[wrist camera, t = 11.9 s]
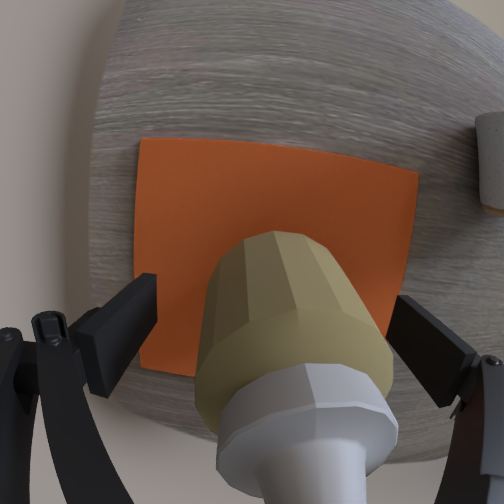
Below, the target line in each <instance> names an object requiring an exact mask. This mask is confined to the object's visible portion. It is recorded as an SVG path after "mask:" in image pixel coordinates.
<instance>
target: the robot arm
mask: <svg viewBox="0 0 504 504" xmlns="http://www.w3.org/2000/svg"><path fill="white" fill-rule="evenodd" d="M157 322H158V316H157V274H152V273H144V272H143V273H142V274H141V275H140V276H138V277H137V278H136V279H135V280H133V281H132V282H131V283H130V284H129V285H127V286H126V287H125V288H124V289H123V290H122V291H120V292H119V293H118V294H117V295H116V296H114V297H113V298H112V299H111V300H110V301H109V302H107V303H106V304H105V305H104V306H103V307H102V308H99V307H97V308H94V309H92V310H89V311H87V312H86V313H85V314H84V315H83V316H82V317H80V318H79V319H78V320H77V322H74V323H73V324H72V325H71V326H70V327H68V328H67V323H66V318H65V316H64V314H63V313H61V312H57V311H45V312H41V313H39V314H36V315H35V316H34V317H33V318H32V320H31V323H32V327H33V331H34V336H35V339H36V342H29V341H23V337H22V334H21V332H20V330H19V329H17V328H8V327H6V328H2V329H0V504H30V493H29V483H30V482H29V481H30V458H31V446H32V437H33V428H34V420H35V414H36V408H37V403H38V397H39V395H40V398H41V405H42V412H43V418H44V423H45V429H46V434H47V438H48V443H49V447H50V451H51V455H52V459H53V463H54V466H55V470H56V473H57V476H58V479H59V483H60V485H61V489H62V491H63V494H64V497H65V500H66V502H67V504H134V502H133V501H132V499H131V497H130V496H129V494H128V492H127V491H126V489H125V487H124V485H123V483H122V481H121V479H120V478H119V476H118V474H117V472H116V470H115V468H114V466H113V464H112V462H111V460H110V458H109V455H108V453H107V451H106V449H105V447H104V445H103V442H102V440H101V438H100V435H99V432H98V430H97V428H96V425H95V422H94V420H93V417H92V414H91V412H90V409H89V406H88V403H87V400H86V397H85V394H84V391H83V386H84V385H85V384H86V382H87V383H88V386H89V390H90V393H91V394H95V395H98V396H101V397H105V398H107V399H108V397H109V396H110V394H111V392H112V391H113V389H114V388H115V386H116V384H117V383H118V381H119V380H120V378H121V377H122V375H123V373H124V372H125V370H126V369H127V367H128V366H129V364H130V363H131V361H132V360H133V358H134V356H135V355H136V353H137V352H138V350H139V349H140V347H141V346H142V344H143V343H144V341H145V340H146V338H147V337H148V335H149V334H150V332H151V331H152V329H153V328H154V326H155V325H156V323H157ZM385 339H386V340H387V341H388V342H389V343H390V345H391V346H392V347H393V348H394V350H395V351H396V352H397V354H398V355H399V356H400V357H401V359H402V360H403V361H404V362H405V364H406V365H407V366H408V368H409V369H410V370H411V371H412V373H413V374H414V375H415V377H416V378H417V379H418V381H419V382H420V383H421V385H422V386H423V387H424V389H425V390H426V391H427V393H428V394H429V395H430V397H431V398H432V399H433V401H434V402H435V403H436V405H437V406H438V407H439V408H442V407H446V406H450V405H451V404H452V402H453V401H454V399H455V397H456V395H457V394H458V395H459V397H460V398H461V399H460V401H459V403H458V404H457V406H456V408H455V409H454V411H453V413H452V414H451V416H450V419H452V417H453V416H454V415H456V417H455V419H454V420H455V423H454V429H453V435H452V440H451V445H450V450H449V454H448V458H447V463H446V466H445V470H444V474H443V477H442V481H441V484H440V487H439V491H438V494H437V497H436V500H435V503H434V504H504V364H503V362H502V361H501V360H500V359H498V358H497V357H495V356H492V355H483V356H482V357H480V356H479V355H478V354H477V352H476V351H475V350H474V349H473V348H472V347H471V346H469V345H468V344H467V343H466V342H465V341H464V340H462V339H461V338H460V337H459V336H458V335H456V334H455V333H454V332H453V331H452V330H450V329H449V328H448V327H447V326H446V325H444V324H443V323H442V322H441V321H439V320H438V319H437V318H436V317H434V316H433V315H432V314H431V313H429V312H428V311H427V310H426V309H424V308H423V307H422V306H421V305H419V304H418V303H417V302H416V301H414V300H413V299H412V298H410V297H409V296H408V295H397V298H396V301H395V305H394V309H393V312H392V316H391V320H390V323H389V326H388V330H387V333H386V336H385Z"/></svg>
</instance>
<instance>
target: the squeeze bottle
mask: <svg viewBox="0 0 504 504" xmlns="http://www.w3.org/2000/svg"><path fill="white" fill-rule="evenodd" d="M392 384H393V354H392V352H391V350H390V348H389V347H388V345H387V343H386V341H385V339H384V338H383V336H382V334H381V332H380V331H379V329H378V327H377V326H376V324H375V322H374V320H373V319H372V317H371V315H370V314H369V312H368V310H367V309H366V307H365V305H364V304H363V302H362V300H361V299H360V297H359V295H358V294H357V292H356V291H355V289H354V287H353V286H352V284H351V282H350V281H349V279H348V278H347V276H346V275H345V273H344V271H343V270H342V268H341V267H340V266H339V264H338V263H337V261H336V260H335V259H334V257H333V256H332V254H331V253H330V252H329V250H328V249H327V248H326V247H324V246H323V245H321V244H319V243H317V242H316V241H314V240H312V239H310V238H309V237H307V236H305V235H304V234H298V233H290V232H281V231H270V232H266V233H263V234H259V235H256V236H252V237H249V238H245V239H243V240H242V241H241V242H240V243H238V244H237V245H236V246H235V247H233V248H232V249H231V250H230V251H228V252H227V253H226V254H225V255H223V256H222V257H221V258H220V260H219V262H218V264H217V266H216V268H215V270H214V272H213V274H212V275H211V277H210V279H209V281H208V286H207V293H206V299H205V306H204V313H203V320H202V327H201V334H200V342H199V349H198V357H197V365H196V373H195V406H196V408H197V410H198V411H199V413H200V415H201V416H202V418H203V420H204V421H205V423H206V425H207V426H208V428H209V430H211V431H212V432H213V433H215V434H216V435H218V436H219V437H218V445H217V455H216V470H217V471H218V472H219V474H220V475H221V476H222V477H223V478H224V480H225V481H226V482H227V483H228V485H230V486H231V487H233V488H235V489H237V490H239V491H241V492H243V493H246V494H248V495H250V496H253V497H258V498H263V499H264V502H265V504H367V502H366V477H367V476H368V475H370V474H371V473H372V472H374V471H375V470H376V469H377V468H379V467H380V466H381V465H382V464H383V463H384V462H385V460H386V459H387V457H388V456H389V455H390V453H391V452H392V450H393V449H394V447H395V446H396V444H397V435H398V426H399V424H398V423H397V421H396V419H395V417H394V415H393V414H392V412H391V410H390V408H389V406H388V405H387V403H386V401H385V399H386V397H387V395H388V393H389V391H390V389H391V386H392Z"/></svg>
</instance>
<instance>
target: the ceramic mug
mask: <svg viewBox="0 0 504 504" xmlns="http://www.w3.org/2000/svg"><path fill="white" fill-rule="evenodd" d="M475 125H476V133H477V144H478V158H479V193H480V202H481V206H482V208H483V210H484V211H485V212H487V213H489V214H492V215H495V216H499V217H503V218H504V112H490V113H484V114H481V115H479V116H477V117H476V119H475Z"/></svg>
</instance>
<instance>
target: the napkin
mask: <svg viewBox="0 0 504 504" xmlns="http://www.w3.org/2000/svg"><path fill="white" fill-rule="evenodd" d="M418 182H419V173H417V172H414V171H410V170H406V169H402V168H398V167H394V166H390V165H386V164H382V163H377V162H373V161H368V160H364V159H359V158H354V157H349V156H344V155H338V154H333V153H327V152H321V151H315V150H308V149H301V148H294V147H287V146H279V145H270V144H261V143H250V142H239V141H225V140H208V139H180V138H142V139H141V142H140V151H139V160H138V171H137V183H136V198H135V219H134V280H135V279H136V278H137V277H138V276H140V275H141V274H142V273H143V272H144V273H152V274H157V316H158V322H157V323H156V325H155V326H154V328H153V329H152V331H151V332H150V334H149V335H148V337H147V338H146V340H145V341H144V343H143V344H142V346H141V347H140V349H139V355H140V363H141V367H142V368H147V369H152V370H157V371H163V372H168V373H174V374H180V375H186V376H193V377H195V373H196V365H197V357H198V349H199V342H200V334H201V327H202V320H203V313H204V306H205V299H206V293H207V286H208V281H209V279H210V277H211V275H212V274H213V272H214V270H215V268H216V266H217V264H218V262H219V260H220V258H221V257H222V256H223V255H225V254H226V253H227V252H228V251H230V250H231V249H232V248H233V247H235V246H236V245H237V244H238V243H240V242H241V241H242V240H243V239H245V238H249V237H252V236H256V235H259V234H263V233H266V232H270V231H281V232H290V233H298V234H304V235H305V236H307V237H309V238H310V239H312V240H314V241H316V242H317V243H319V244H321V245H323V246H324V247H326V248H327V249H328V250H329V252H330V253H331V254H332V256H333V257H334V259H335V260H336V261H337V263H338V264H339V266H340V267H341V268H342V270H343V271H344V273H345V275H346V276H347V278H348V279H349V281H350V282H351V284H352V286H353V287H354V289H355V291H356V292H357V294H358V295H359V297H360V299H361V300H362V302H363V304H364V305H365V307H366V309H367V310H368V312H369V314H370V315H371V317H372V319H373V320H374V322H375V324H376V326H377V327H378V329H379V331H380V332H381V334H382V336H383V338H384V339H385V336H386V333H387V330H388V326H389V323H390V320H391V316H392V312H393V309H394V305H395V301H396V298H397V295H399V294H400V290H401V286H402V281H403V277H404V272H405V268H406V263H407V258H408V253H409V248H410V242H411V236H412V230H413V224H414V217H415V209H416V201H417V192H418ZM385 341H386V339H385Z"/></svg>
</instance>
